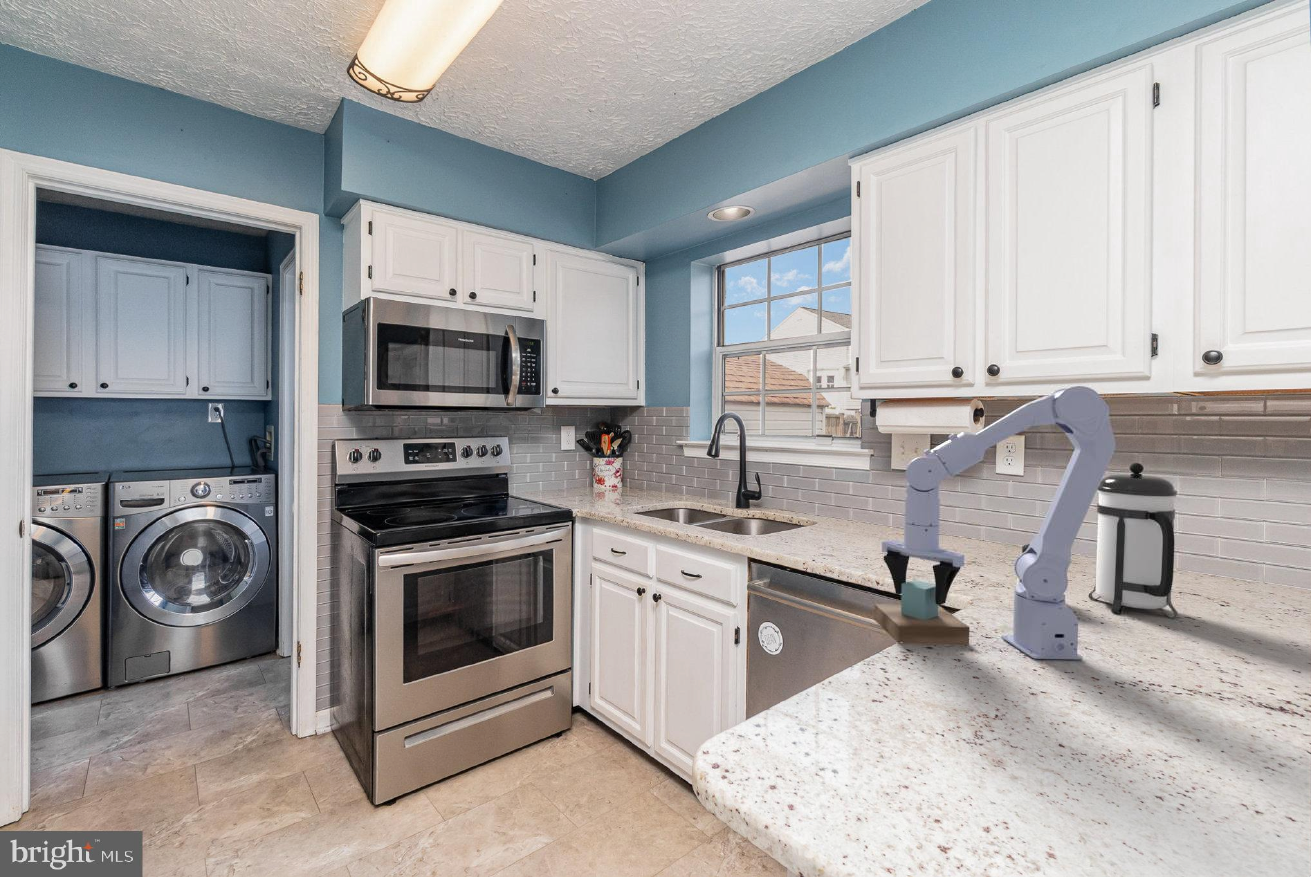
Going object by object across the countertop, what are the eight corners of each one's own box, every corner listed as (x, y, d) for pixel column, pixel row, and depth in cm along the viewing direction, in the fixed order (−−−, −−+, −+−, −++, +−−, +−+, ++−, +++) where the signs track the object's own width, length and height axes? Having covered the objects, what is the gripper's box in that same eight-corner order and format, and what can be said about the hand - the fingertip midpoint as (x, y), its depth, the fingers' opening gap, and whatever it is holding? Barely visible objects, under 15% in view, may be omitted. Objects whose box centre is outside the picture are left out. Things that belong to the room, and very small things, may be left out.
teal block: (938, 615, 108) (938, 585, 108) (924, 620, 106) (925, 589, 106) (914, 609, 112) (915, 579, 112) (901, 613, 109) (901, 583, 109)
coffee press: (1068, 603, 126) (1073, 461, 125) (1109, 593, 134) (1114, 459, 133) (1168, 630, 111) (1175, 468, 110) (1209, 617, 118) (1215, 465, 117)
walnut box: (968, 647, 103) (969, 627, 103) (898, 646, 103) (898, 626, 103) (937, 623, 115) (937, 604, 115) (874, 622, 115) (874, 604, 115)
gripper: (973, 527, 105) (971, 604, 105) (897, 516, 116) (895, 585, 117) (953, 531, 101) (951, 612, 101) (876, 519, 112) (874, 591, 113)
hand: (919, 598), depth 109 cm, fingers open, 7 cm apart
